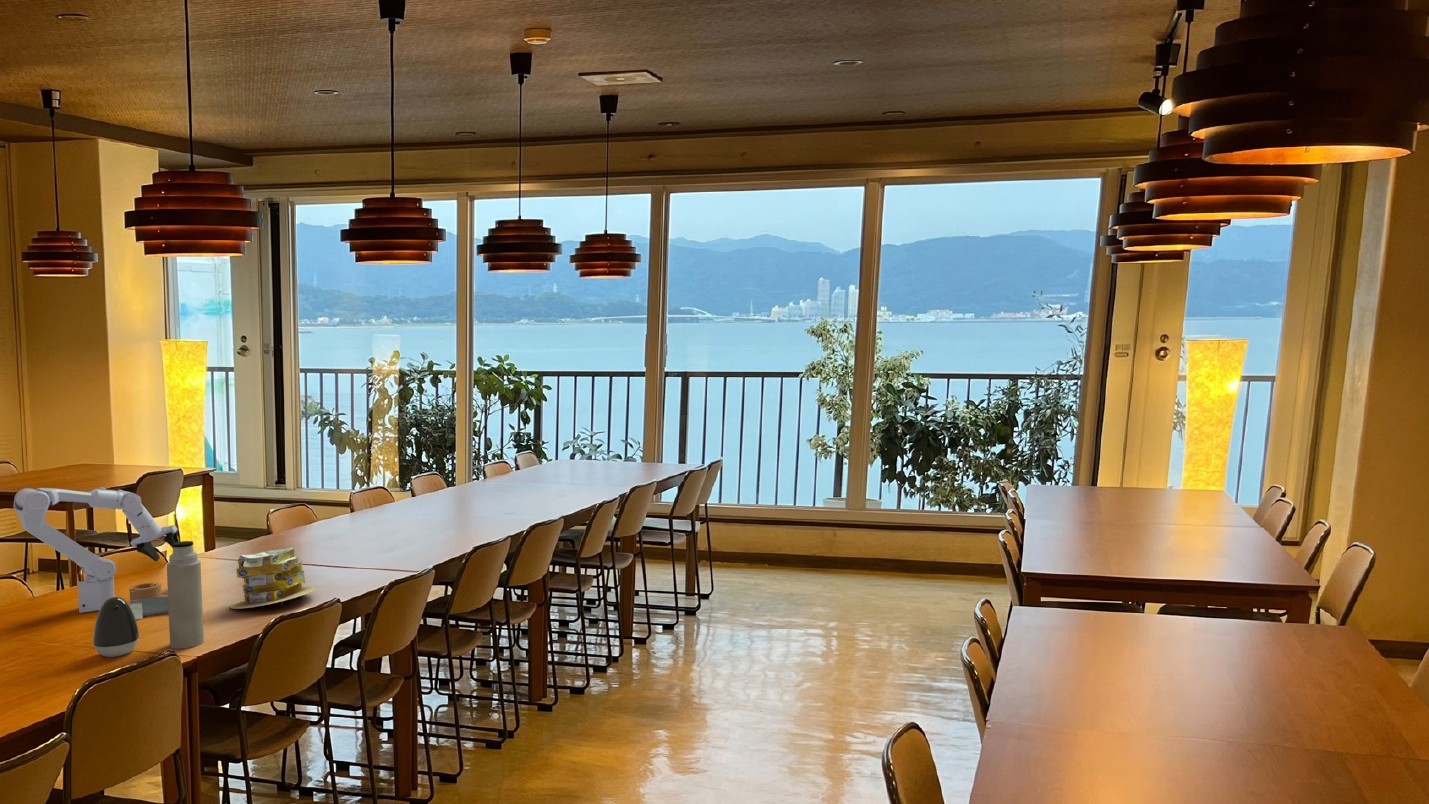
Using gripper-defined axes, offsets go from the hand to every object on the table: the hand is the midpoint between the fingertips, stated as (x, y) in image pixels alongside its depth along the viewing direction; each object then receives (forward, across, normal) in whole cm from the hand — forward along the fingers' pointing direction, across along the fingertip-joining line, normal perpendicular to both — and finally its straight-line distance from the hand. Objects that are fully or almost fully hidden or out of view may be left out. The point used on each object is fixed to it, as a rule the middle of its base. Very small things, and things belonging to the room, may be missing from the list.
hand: (168, 555), depth 301 cm
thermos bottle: (+1, -28, +57) cm, 63 cm away
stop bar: (+5, -7, +28) cm, 29 cm away
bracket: (+8, +1, +16) cm, 18 cm away
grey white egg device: (-6, -15, +62) cm, 64 cm away
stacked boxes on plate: (+18, -33, +21) cm, 43 cm away
